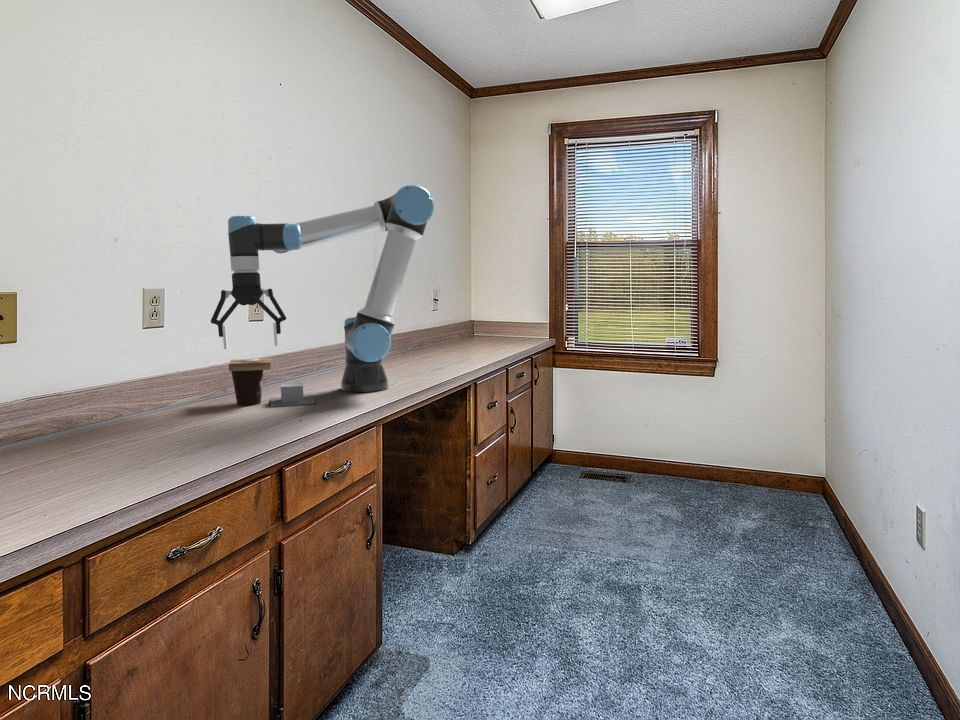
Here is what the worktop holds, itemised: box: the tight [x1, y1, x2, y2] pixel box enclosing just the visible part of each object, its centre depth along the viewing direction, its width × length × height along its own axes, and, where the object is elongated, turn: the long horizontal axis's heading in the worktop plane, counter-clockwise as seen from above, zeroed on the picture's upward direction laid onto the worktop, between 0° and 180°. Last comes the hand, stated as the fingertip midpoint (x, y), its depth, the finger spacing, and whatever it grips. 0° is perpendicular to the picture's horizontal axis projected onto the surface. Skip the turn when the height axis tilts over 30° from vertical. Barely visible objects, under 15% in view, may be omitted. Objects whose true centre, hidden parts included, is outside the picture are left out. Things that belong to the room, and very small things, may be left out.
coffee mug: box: [230, 370, 264, 407], centre depth 185 cm, size 12×9×10 cm
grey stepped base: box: [269, 382, 316, 408], centre depth 185 cm, size 12×12×5 cm
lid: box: [228, 357, 272, 372], centre depth 185 cm, size 11×11×2 cm
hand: (251, 347), depth 184 cm, fingers open, 13 cm apart
